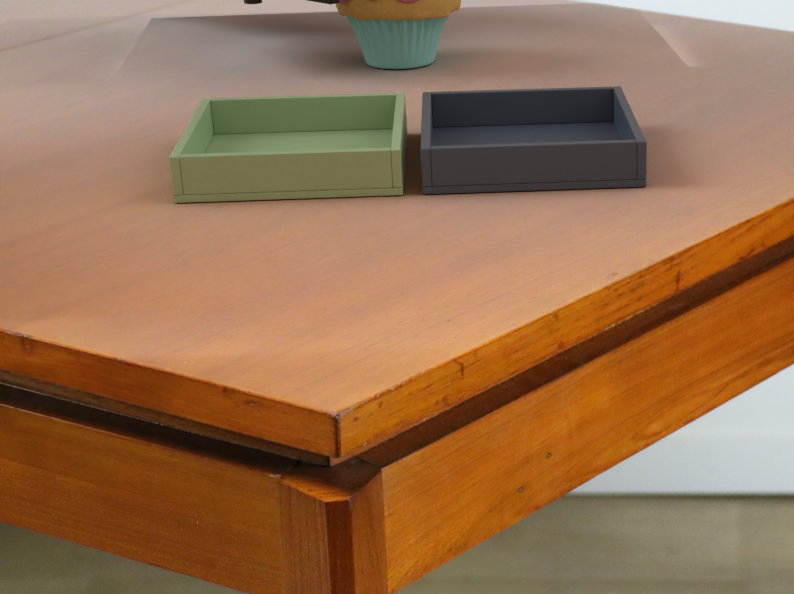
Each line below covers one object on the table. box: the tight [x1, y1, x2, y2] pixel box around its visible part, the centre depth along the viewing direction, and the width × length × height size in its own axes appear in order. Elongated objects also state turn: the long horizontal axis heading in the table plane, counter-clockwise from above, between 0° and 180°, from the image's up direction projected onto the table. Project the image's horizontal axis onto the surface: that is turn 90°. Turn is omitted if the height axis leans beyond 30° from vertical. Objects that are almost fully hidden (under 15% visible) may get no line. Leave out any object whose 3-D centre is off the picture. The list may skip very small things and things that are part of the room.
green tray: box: [168, 92, 408, 204], centre depth 82 cm, size 12×12×2 cm
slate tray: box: [420, 85, 648, 195], centre depth 83 cm, size 12×12×2 cm
